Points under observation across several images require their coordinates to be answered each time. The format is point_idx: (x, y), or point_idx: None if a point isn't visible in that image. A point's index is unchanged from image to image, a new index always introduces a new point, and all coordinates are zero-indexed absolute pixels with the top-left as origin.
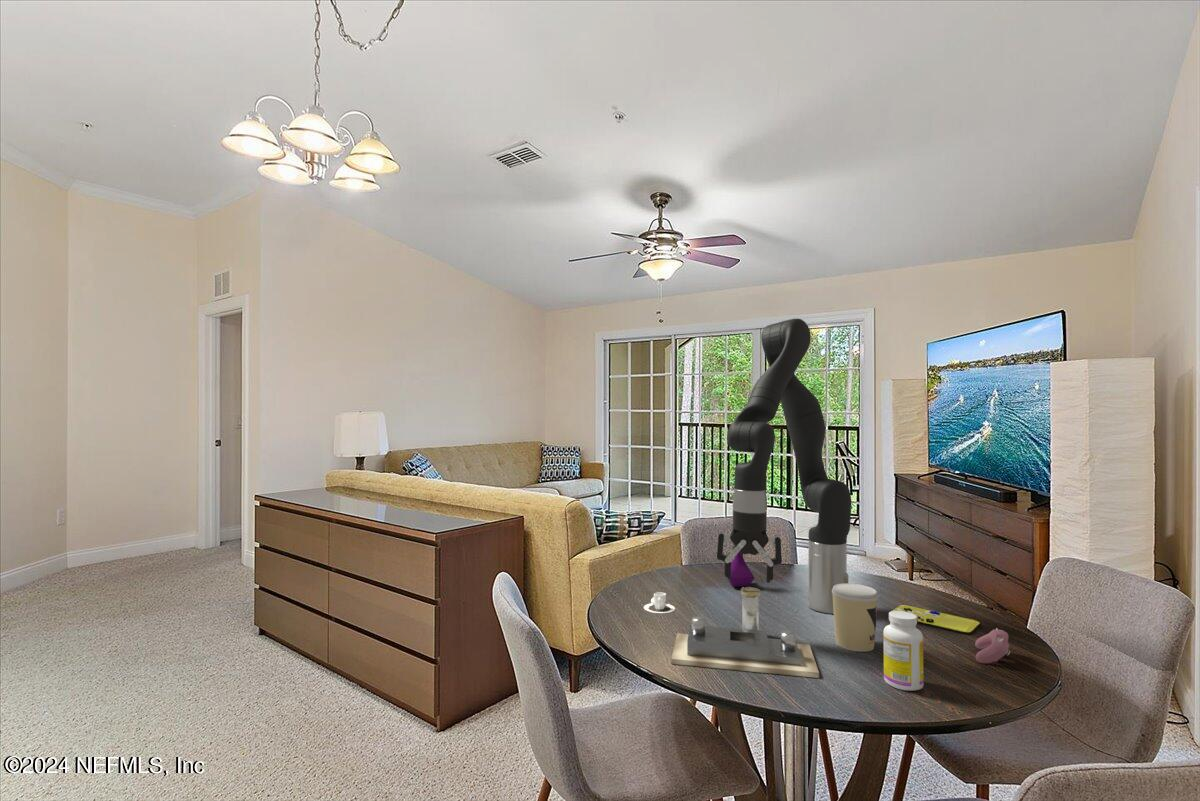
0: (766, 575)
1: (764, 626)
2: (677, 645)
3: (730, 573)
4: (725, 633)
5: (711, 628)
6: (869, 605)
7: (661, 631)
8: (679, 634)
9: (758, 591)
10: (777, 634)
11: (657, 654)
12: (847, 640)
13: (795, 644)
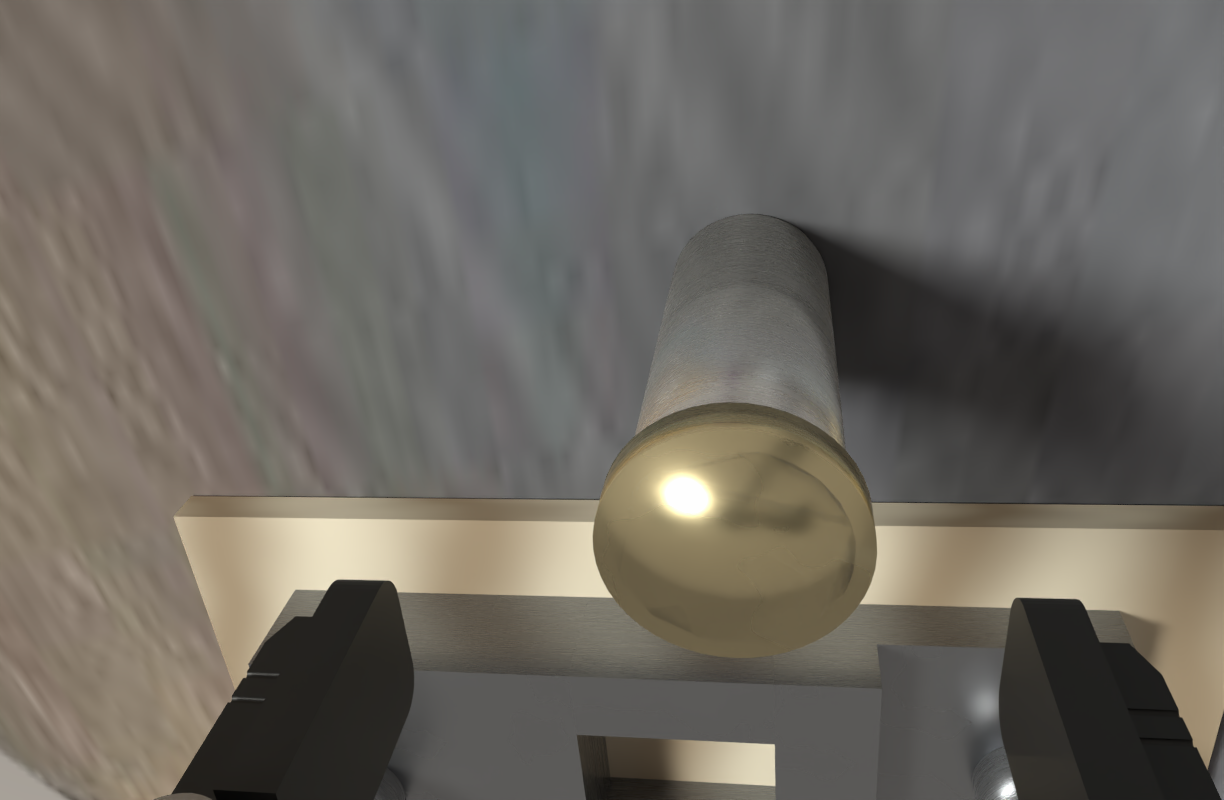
0: (1031, 730)
1: (914, 10)
2: None
3: (375, 778)
4: (546, 772)
5: (424, 705)
6: None
7: (32, 400)
8: (196, 533)
9: (849, 593)
10: (1027, 222)
11: (187, 737)
12: None
13: None
